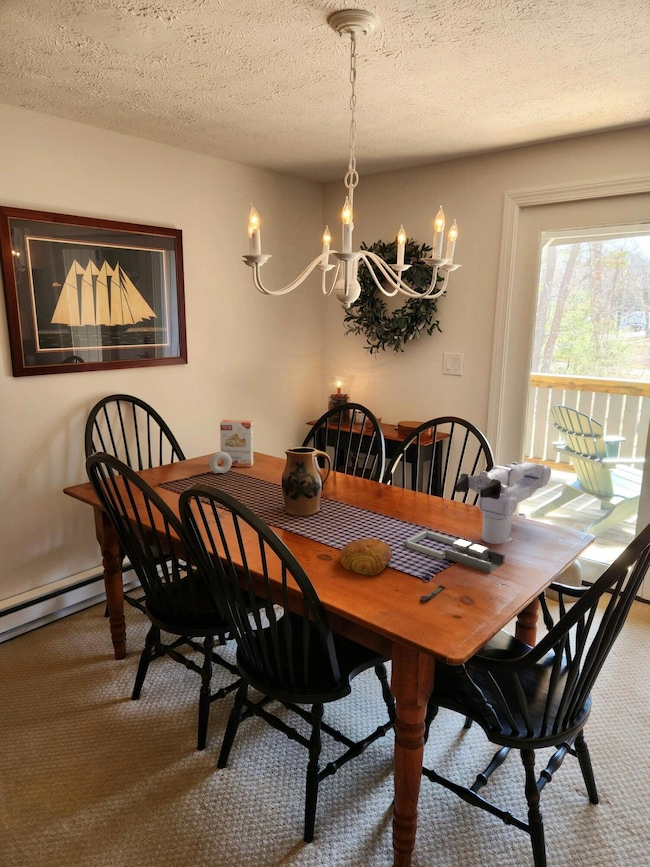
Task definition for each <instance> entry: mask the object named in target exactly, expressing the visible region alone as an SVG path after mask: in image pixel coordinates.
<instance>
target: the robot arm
mask: <svg viewBox="0 0 650 867" xmlns="http://www.w3.org/2000/svg"><path fill="white" fill-rule="evenodd" d="M551 469H552V468H551V467H550V466H549V465H545V464H539V463H535V462H529V461H526V460H521V461H520V462H516V461H511V463H510V464H509V463H508V464H507V463H506V464H505V465H503V466H502V465H496V464H494V465H493V466H492V468H491V470H489V471H486V470H481V471H480V472H479V474H476V475H471V476H469V474H468V473H461V474H460V476H459V477H458V478H457V482H456V483H455V485H454V486H455V487H454V492H456V493H466V494H468V493H469V489H470V490H471V491H473V492H474V493H477V494H478V495H479V497H478V502H477V505H478V509H479V511H480V512H481V514H482V515H483V516H482V518H483V519H482V527H481V528H482V529H481V539H482V541H484V542H486V543H489V544H492V545H493V544H494V545H499V544H500V545H501V544H502V545H503V544H504V543H506V542H512V541H514V539H513V538H512V537H511V533H512V516H513V515H514V513H515V512H516V511H517V507H518V503H521V502H523V501H525V500H527V499H529V498H531V497H532V496H533V495H534V494H535V493H536V492H537V491H538V490H539V489H542V488H543V487H546V486H547V485H548V483H549V481H550V478H551V475H552V470H551Z"/></svg>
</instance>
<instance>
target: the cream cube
mask: <svg viewBox="0 0 650 867" xmlns="http://www.w3.org/2000/svg"><path fill="white" fill-rule="evenodd" d="M473 544H474V543H473ZM488 549H489V547H487V546H484V545H482V544H481V545H480V544H477V543H475V544H474V545H473V546H471V547H469V549H468V555H469V556H472V557H475V558H478V559H481V560H484V561H487V559H488Z"/></svg>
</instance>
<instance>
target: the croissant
mask: <svg viewBox="0 0 650 867" xmlns="http://www.w3.org/2000/svg"><path fill="white" fill-rule="evenodd" d="M339 553H340V563H341V565H342V566H343V568H344V569H345V570H347V571H348V572H354V573H356V574H360V575H365V576H369V577H370V576H376V575H378V574H380V573H381V572H382V571H384V569H385V568H387V566H388V564H389V562H391V559H392V556H393V550H392V547H391V546H390V545H388V544H387V543H386V542H384V541H383V540H381V539H378V538H360V539H356V540H353V541H351V542H348V543H347V544H346V545H344V546H343V547H342V549H341V551H340V552H339Z"/></svg>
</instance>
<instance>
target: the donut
mask: <svg viewBox="0 0 650 867" xmlns="http://www.w3.org/2000/svg"><path fill="white" fill-rule="evenodd" d="M221 459H223V460H224V464H223V465H222V466H221V465H220V466H219V465H218V462H219V461H221ZM208 465H209V468H210V470H211V471H212V472H213V473H215V474H217V473H223V474H226V473H227V472H228V471H229V470H230V469H231V468H232V467H231V465H232V459H231V457H230V455H229V454H228V453H226V452H221V450H220V451H217V452H215V453H213V455H212V456H210V459H209V463H208ZM225 472H226V473H225Z"/></svg>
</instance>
